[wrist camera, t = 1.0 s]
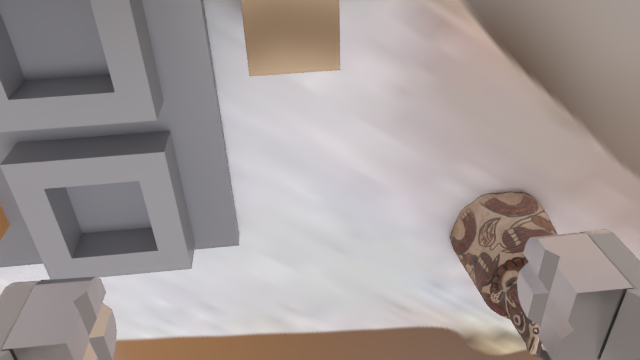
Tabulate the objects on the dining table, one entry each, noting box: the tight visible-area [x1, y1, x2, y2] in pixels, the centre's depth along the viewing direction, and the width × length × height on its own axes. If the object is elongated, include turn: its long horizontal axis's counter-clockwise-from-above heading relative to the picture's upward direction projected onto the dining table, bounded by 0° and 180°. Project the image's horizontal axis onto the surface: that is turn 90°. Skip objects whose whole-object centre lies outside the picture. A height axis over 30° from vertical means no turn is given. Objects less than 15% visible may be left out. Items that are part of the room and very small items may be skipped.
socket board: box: [0, 0, 239, 280], centre depth 29 cm, size 21×19×6 cm
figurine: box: [451, 192, 558, 360], centre depth 35 cm, size 7×7×12 cm
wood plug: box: [241, 0, 340, 76], centre depth 25 cm, size 4×4×8 cm
